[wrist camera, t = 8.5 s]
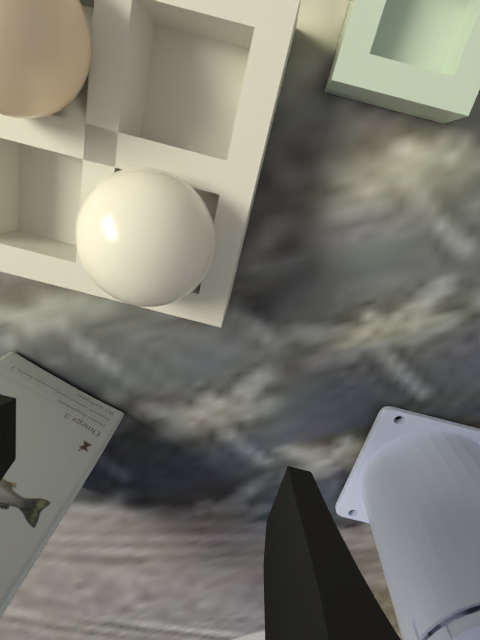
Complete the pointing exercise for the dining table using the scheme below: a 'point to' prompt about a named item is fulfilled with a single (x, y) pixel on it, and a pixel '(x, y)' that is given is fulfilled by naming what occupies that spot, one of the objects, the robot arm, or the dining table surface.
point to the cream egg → (145, 237)
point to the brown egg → (42, 56)
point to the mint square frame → (410, 56)
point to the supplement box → (44, 462)
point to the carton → (151, 132)
